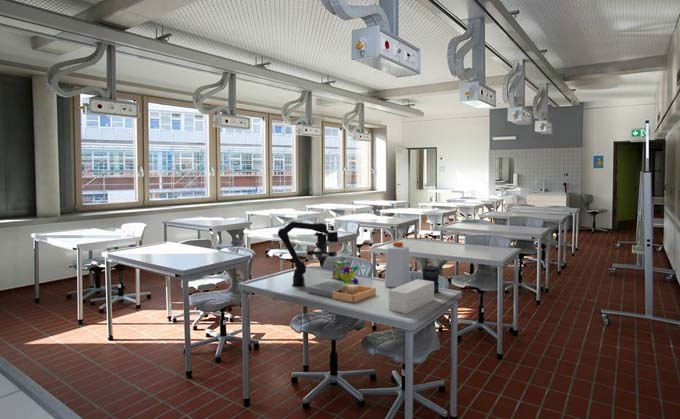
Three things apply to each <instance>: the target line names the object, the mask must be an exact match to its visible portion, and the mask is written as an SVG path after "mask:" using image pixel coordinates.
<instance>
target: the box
mask: <svg viewBox="0 0 680 419" xmlns="http://www.w3.org/2000/svg"><path fill="white" fill-rule="evenodd" d="M357 285H358V294H356V295H349V294H344V293H339V292H334V291H333V298H332V299H334V300H337V301H342V302H348V303H351V304H354V303H357V302H359V301H363V300H365V299H369V298H371V297H373V296H376V295H377V294H376V287H372V286H371V287H370V286H365V285H361V284H360V285H359V284H357Z"/></svg>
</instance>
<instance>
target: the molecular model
mask: <svg viewBox="0 0 680 419" xmlns="http://www.w3.org/2000/svg"><path fill="white" fill-rule="evenodd" d="M349 269H350V270H349ZM358 269H359V267H358V266H357V265H354V266H353V267H350V268H349V267H348V266H346V267H345V268H344V272H343V273H342V274H340V277H341V278H343V279H342V280H343V284H347V283H349V284H350V283H353V284H358V283H359V280H358V278H356V277H355V272H356V271H357V270H358ZM351 270H352V271H351ZM345 272H347V273H348V274H349V275H344V274H345ZM344 276H349V278H348V279H346V278H345V277H344ZM351 279H352V280H351Z"/></svg>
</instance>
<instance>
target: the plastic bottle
mask: <svg viewBox="0 0 680 419" xmlns="http://www.w3.org/2000/svg"><path fill="white" fill-rule="evenodd" d="M409 248H410V247H409V246H407V245H404V243H403V242H402V241H394V242H393V244H392V245H391V246H388V247H387V249H386V256H385V257H386V259H385V272H384V286H385V287H387V288H391V289H393V288H396V287H398V286H401V285H404V284H406V283H409V282H411V281H412V279H411V278H412V277H411V263H410V262H411V261H410V249H409Z"/></svg>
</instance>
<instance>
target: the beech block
mask: <svg viewBox="0 0 680 419" xmlns="http://www.w3.org/2000/svg"><path fill="white" fill-rule="evenodd" d="M358 285H359V284H356V283H350V282H349V283H347V284H344V283H343V285H341V293H344V294H349V295H356V294H358Z"/></svg>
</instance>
